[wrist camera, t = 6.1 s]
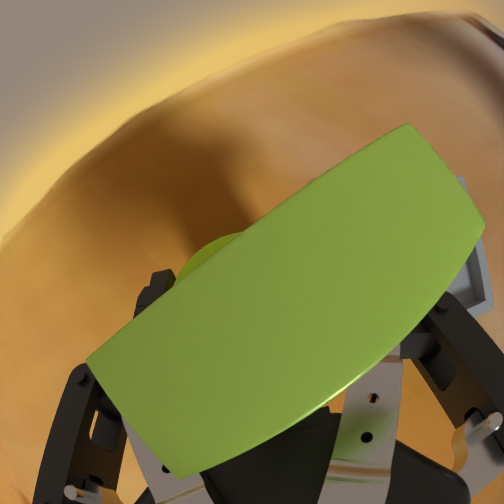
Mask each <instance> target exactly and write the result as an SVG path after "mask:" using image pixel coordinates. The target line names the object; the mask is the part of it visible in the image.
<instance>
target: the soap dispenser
mask: <svg viewBox="0 0 504 504" xmlns="http://www.w3.org/2000/svg"><path fill="white" fill-rule="evenodd" d="M485 225H486V224H485V220H484V218H483V217H482V215H481V213H480V212H479V210H478V208H477V207H476V205H475V204H474V202H473V201H472V199H471V198H470V196H469V195H468V193H467V192H466V190H465V189H464V188H463V186H462V185H461V183H460V182H459V181H458V179H457V178H456V176H455V175H454V174H453V172H452V171H451V170H450V169H449V167H448V166H447V165H446V163H445V162H444V161H443V160H442V158H441V157H440V156H439V155H438V154H437V152H436V151H435V150H434V149H433V148H432V146H431V145H430V144H429V143H428V142H427V141H426V139H425V138H424V137H423V136H422V135H421V134H420V133H419V132H418V131H417V130H416V128H414V127H413V126H412V125H411V124H409V123H406V124H403V125H401V126H399V127H397V128H396V129H394V130H392V131H390V132H389V133H387V134H385V135H384V136H382V137H380V138H379V139H377V140H375V141H374V142H372V143H370V144H369V145H367V146H365V147H364V148H362V149H361V150H359V151H357V152H356V153H354V154H353V155H351V156H349V157H348V158H346V159H345V160H343V161H342V162H340V163H339V164H337V165H336V166H334V167H333V168H331V169H330V170H328V171H327V172H325V173H324V174H322V175H321V176H319V177H318V178H316V179H315V180H313V181H312V182H311V183H309V184H308V185H306V186H305V187H303V188H302V189H301V190H299V191H298V192H296V193H295V194H293V195H292V196H291V197H289V198H288V199H286V200H285V201H284V202H282V203H281V204H280V205H278V206H277V207H275V208H274V209H273V210H271V211H270V212H269V213H267V214H266V215H265V216H263V217H262V218H261V219H259V220H258V221H256V222H255V223H254V224H252V225H251V226H250V227H248V228H247V229H246V230H245V231H243V232H238V233H233V234H229V235H226V236H223V237H221V238H218V239H216V240H214V241H212V242H211V243H209V244H207V245H206V246H204V247H203V248H201V249H200V250H199V251H198V252H197V253H195V254H194V255H193V256H192V257H191V258H190V259H189V261H188V262H187V263H186V264H185V266H184V267H183V268H182V270H181V271H180V273H179V275H178V277H177V278H176V281H175V283H174V285H173V287H172V288H170V289H169V290H168V291H167V292H166V293H164V294H163V295H162V296H161V297H159V298H158V299H157V300H156V301H154V302H153V303H152V304H151V305H150V306H148V307H147V308H146V309H145V310H144V311H142V312H141V313H140V314H139V315H137V316H136V317H135V318H134V319H133V320H131V321H130V322H129V323H128V324H127V325H125V326H124V327H123V328H122V329H121V330H120V331H118V332H117V333H116V334H115V335H114V336H112V337H111V338H110V339H109V340H108V341H106V342H105V343H104V344H103V345H102V346H101V347H99V348H98V349H97V350H96V351H95V352H94V353H92V354H91V355H90V356H89V357H88V358H87V359H86V363H87V365H88V367H89V368H90V370H91V371H92V373H93V375H94V376H95V378H96V379H97V381H98V382H99V384H100V385H101V387H102V388H103V390H104V391H105V393H106V394H107V395H108V397H109V398H110V400H111V401H112V402H113V404H114V405H115V407H116V408H117V409H118V411H119V412H120V413H121V415H122V416H123V417H124V419H125V420H126V421H127V422H128V424H129V425H130V426H131V428H132V429H133V430H134V431H135V432H136V434H137V435H138V436H139V437H140V439H141V440H142V441H143V442H144V443H145V444H146V446H147V447H148V448H149V449H150V450H151V451H152V452H153V454H154V455H155V456H156V457H157V458H158V459H159V460H160V461H161V462H162V463H163V464H164V465H165V467H166V468H167V469H168V470H169V471H170V472H171V473H172V474H173V475H174V476H175V477H176V478H177V479H179V480H181V479H184V478H186V477H189V476H192V475H194V474H197V473H199V472H202V471H204V470H207V469H209V468H211V467H214V466H216V465H218V464H221V463H223V462H225V461H227V460H229V459H231V458H234V457H236V456H238V455H240V454H242V453H244V452H246V451H248V450H250V449H252V448H254V447H256V446H258V445H259V444H261V443H263V442H265V441H267V440H269V439H270V438H272V437H274V436H276V435H278V434H279V433H281V432H283V431H284V430H286V429H288V428H289V427H291V426H293V425H294V424H296V423H298V422H299V421H301V420H302V419H304V418H306V417H307V416H309V415H310V414H312V413H313V412H315V411H316V410H318V409H319V408H321V407H322V406H324V405H325V404H326V403H328V402H329V401H331V400H332V399H333V398H335V397H336V396H338V395H339V394H340V393H342V392H343V391H344V390H346V389H347V388H348V387H349V386H351V385H352V384H353V383H355V382H356V381H357V380H358V379H360V378H361V377H362V376H363V375H364V374H366V373H367V372H368V371H369V370H370V369H372V368H373V367H374V366H375V365H376V364H377V363H378V362H380V361H381V360H382V359H383V358H384V357H385V356H386V355H387V354H388V353H389V352H391V351H392V350H393V349H394V348H395V347H396V346H397V345H398V344H399V343H400V342H401V341H402V340H403V339H404V338H405V337H406V336H407V335H408V334H409V333H410V332H411V331H412V330H413V329H414V328H415V327H416V325H417V324H418V323H419V322H420V321H421V320H422V319H423V318H424V317H425V315H426V314H427V313H428V312H429V311H430V310H431V308H432V307H433V306H434V305H435V304H436V302H437V301H438V300H439V299H440V297H441V296H442V295H443V293H444V292H445V291H446V290H447V288H448V287H449V285H450V284H451V283H452V281H453V280H454V278H455V277H456V276H457V274H458V273H459V271H460V270H461V268H462V267H463V265H464V263H465V262H466V260H467V259H468V257H469V255H470V254H471V252H472V250H473V249H474V247H475V245H476V243H477V242H478V240H479V238H480V236H481V234H482V232H483V230H484V227H485Z"/></svg>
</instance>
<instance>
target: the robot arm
mask: <svg viewBox="0 0 504 504" xmlns="http://www.w3.org/2000/svg"><path fill="white" fill-rule="evenodd" d="M175 281H176V277H175V275H174V273H173V272H172V270H171V269H167V270H163V271H159V272H154V273H153V274H152V277H151V281H150V286H147V287H144V289H143V290H142V292H141V293H140V295H139V296H138V299H137V303H136V308H135V312H134V316H133V319H134V318H135V317H136V316H137V315H139V314H140V313H141V312H142V311H144V310H145V309H146V308H147V307H148V306H150V305H151V304H152V303H153V302H154V301H156V300H157V299H158V298H159V297H161V296H162V295H163V294H164V293H166V292H167V291H168V290H169V289H170V288H172V287H173V285H174V283H175ZM402 359H411V360H412V362H413V363H414V365H415V366H416V368H417V369H418V371H419V372H420V374H421V375H422V377H423V378H424V380H425V381H426V383H427V384H428V386H429V387H430V389H431V390H432V392H433V393H434V395H435V396H436V398H437V400H438V401H439V403H440V404H441V406H442V407H443V409H444V411H445V412H446V414H447V415H448V417H449V419H450V420H451V422H452V424H453V425H454V427H455V429H456V430H455V432H454V434H453V436H452V441H451V445H452V449H453V452H454V456H455V462H454V466H453V469H452V471H451V470H449V469H447V468H446V467H444V466H442V465H440V464H438V463H436V462H435V461H433V460H431V459H429V458H427V457H426V456H424V455H422V454H420V453H419V452H417V451H415V450H414V449H412V448H410V447H408V446H407V445H405V444H403V443H402V442H400V441H398V440H397V439H396V433H397V426H398V418H399V409H400V400H401V388H402V374H403V360H402ZM95 411H98V412H99V413H98V416H97V420H96V423H95V427H94V430H93V434H92V438H91V439H90V436H89V432H90V428H91V424H92V421H93V417H94V414H95ZM127 435H128V438H129V441H130V443H131V446H132V449H133V451H134V454H135V456H136V459H137V461H138V464H139V466H140V468H141V471H142V473H143V475H144V478H145V480H146V482H147V484H148V487H147V488H146V489H145V491H144V492H143V493H142V495H141V496H140V497H139V498H138V500H137V501H136V502H135V503H134V504H471V498H472V497H473V496H475V495H476V494H477V493H478V492H479V491H481V490H482V489H483V488H484V487H485V486H487V485H488V484H489V483H490V482H491V481H492V480H493V479H495V478H496V477H497V476H498V475H499V474H500V473H501V472H502V471H503V470H504V354H503V353H502V351H501V350H500V349H499V347H498V346H497V345H496V344H495V342H494V341H493V340H492V339H491V338H490V336H489V335H488V334H487V333H486V332H485V330H484V329H483V328H482V327H481V326H480V324H479V323H478V322H477V321H476V320H475V319H474V318H473V316H472V315H471V314H470V313H469V312H468V311H467V310H466V308H465V307H464V306H463V305H462V304H461V303H460V302H459V301H458V300H457V299H456V298H455V297H454V296H453V295H452V294H451V293H449V292H447V291H445V292H444V293H443V295H442V296H441V297H440V299H439V300H438V301H437V302H436V304H435V305H434V306H433V307H432V308H431V310H430V311H429V312H428V313H427V314H426V315H425V317H424V318H423V319H422V320H421V321H420V322H419V323H418V324H417V325H416V327H415V328H414V329H413V330H412V331H411V332H410V333H409V334H408V335H407V336H406V337H405V338H404V339H403V340H402V341H401V342H400V343H399V344H398V345H397V346H396V347H395V348H394V349H393V350H392V351H391V352H389V353H388V354H387V355H386V356H385V357H384V358H383V359H382V360H381V361H380V362H378V363H377V364H376V365H375V366H374V367H373V368H372V369H370V370H369V371H368V372H367V373H366V374H364V375H363V376H362V377H361V378H360V379H358V380H357V381H356V382H355V383H353V384H352V385H351V386H349V387H348V388H347V392H346V397H345V402H344V407H343V412H342V413H330V410H329V406H326V407H322V408H319V409H318V410H316V411H315V412H313V413H312V414H310V415H309V416H307V417H306V418H304V419H302V420H301V421H299V422H298V423H296V424H294V425H293V426H291V427H289V428H288V429H286V430H284V431H283V432H281V433H279V434H278V435H276V436H274V437H272V438H270V439H269V440H267V441H265V442H263V443H261V444H259V445H258V446H256V447H254V448H252V449H250V450H248V451H246V452H244V453H242V454H240V455H238V456H236V457H234V458H231V459H229V460H227V461H225V462H223V463H221V464H218V465H216V466H214V467H211V468H209V469H207V470H204V471H202V472H199V473H197V474H194V475H192V476H189V477H186V478H184V479H181V480H179V479H177V478H176V477H175V476H174V475H173V474H172V473H171V472H170V471H169V470H168V469H167V468H166V467H165V465H164V464H163V463H162V462H161V461H160V460H159V459H158V458H157V457H156V456H155V455H154V454H153V452H152V451H151V450H150V449H149V448H148V447H147V446H146V444H145V443H144V442H143V441H142V440H141V439H140V437H139V436H138V435H137V434H136V432H135V431H134V430H133V429H132V428H131V426H130V425H129V424H128V422H127V421H126V420H125V419H124V417H123V416H122V415H121V413H120V412H119V411H118V409H117V408H116V407H115V405H114V404H113V402H112V401H111V400H110V398H109V397H108V395H107V394H106V393H105V391H104V390H103V388H102V387H101V385H100V384H99V382H98V381H97V379H96V378H95V376H94V375H93V373H92V371H91V370H90V368H89V367H88V365H87V363H83V364H80V365H78V366H77V367H76V368H75V369H74V370H73V371H72V372H71V374H70V376H69V378H68V381H67V384H66V386H65V389H64V392H63V394H62V397H61V400H60V403H59V406H58V409H57V412H56V415H55V418H54V421H53V424H52V427H51V430H50V433H49V437H48V440H47V443H46V447H45V451H44V454H43V458H42V462H41V466H40V470H39V474H38V478H37V483H36V487H35V492H34V497H33V503H32V504H123V502H122V501H120V499H119V497H118V495H117V493H116V489H117V483H118V478H119V473H120V468H121V463H122V458H123V453H124V449H125V444H126V440H127Z"/></svg>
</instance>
